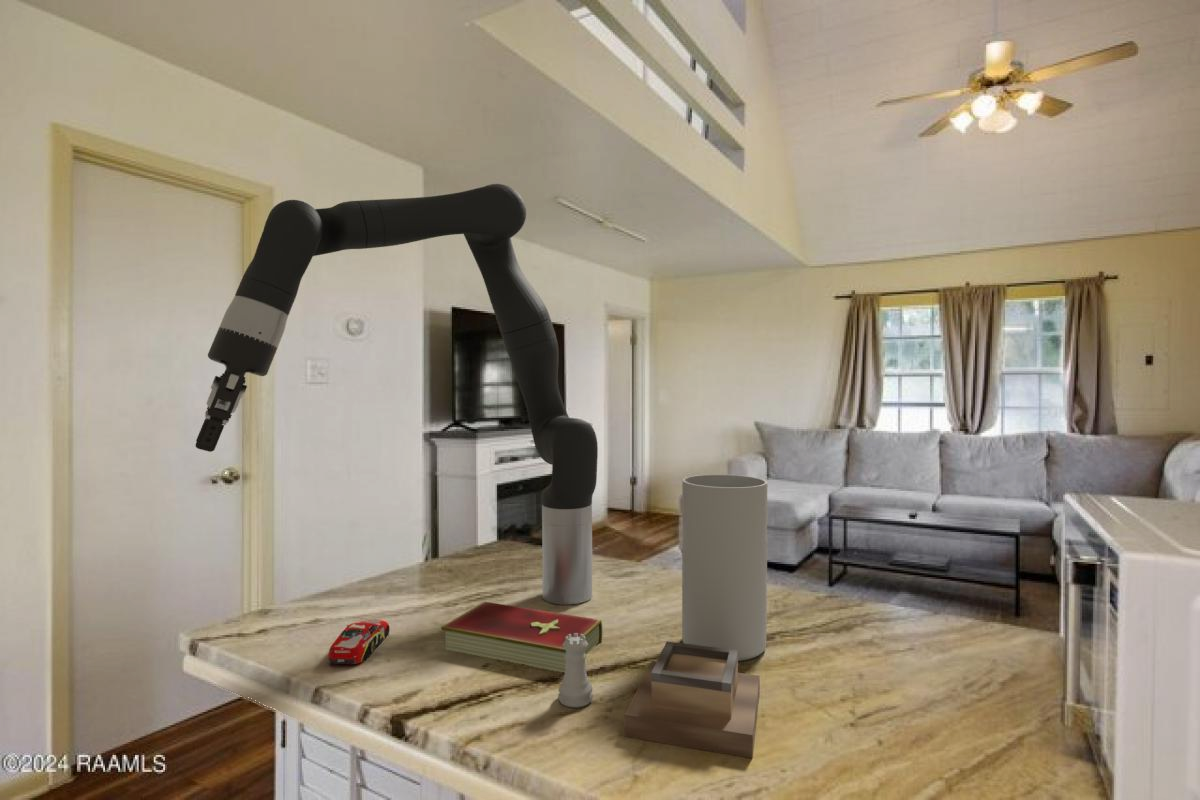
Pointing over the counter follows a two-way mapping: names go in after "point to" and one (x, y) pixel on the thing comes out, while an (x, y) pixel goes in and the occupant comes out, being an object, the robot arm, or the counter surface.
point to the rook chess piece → (575, 674)
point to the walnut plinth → (695, 723)
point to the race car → (358, 641)
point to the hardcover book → (519, 634)
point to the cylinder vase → (724, 563)
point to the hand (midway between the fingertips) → (203, 447)
